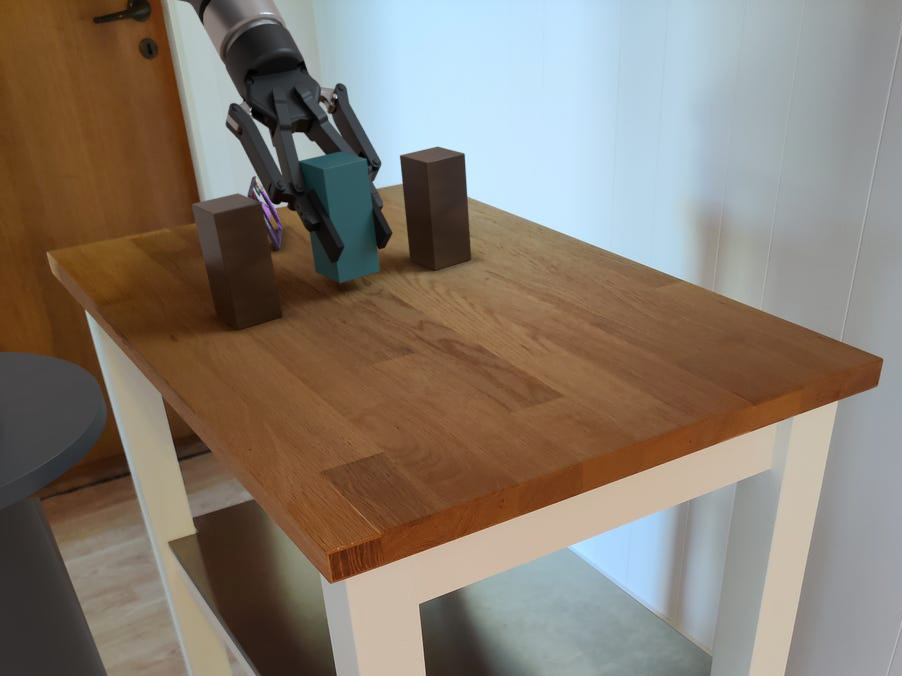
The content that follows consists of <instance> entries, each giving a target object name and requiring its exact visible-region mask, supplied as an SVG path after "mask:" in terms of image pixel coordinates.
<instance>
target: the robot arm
mask: <svg viewBox="0 0 902 676" xmlns="http://www.w3.org/2000/svg"><path fill="white" fill-rule="evenodd" d="M178 1H179V2H184V3H188V4H190V6H191V7H192V8H193V10H194V12H195V13H196V15H197V17H198V19H199V21H200V23H201V25H202V26H203V28H204V30H205V32H206V34H207V36H208V37H209V39H210V41H211V43H212V45H213V47H214V49H215V50H216V53H217V54H218V56H219V58H220V60H221V62H222V63H223V64H224V66H225V70H226V73H227V75H228V76H229V78H230V79H231V81H232V84H233V85H234V87H235V89H236V91H237V93H238V95H239V96H240V98H241V99H242V102H241V103H240V104H238V103H236V102H231V103H230V104H229V106H228V110H227V115H226V119H225V127H226V129H228V130H229V132H231V134H233V136H234V137H235V138H236V139H237V140H238V141H239V143H240V144H241V147H242V148H243V150H244V152H245V154H246V156H247V159H248V160H249V162H250V164H251V166H252V168H253V170H254V172H255V174H256V177H257V179H259V180H260V182H261V184H262V186H263V187H264V189H263V190H264V192H265V194H266V196H267V197H268V199H269V200H270V201H271V202H272V203H273V204H272V203H271V204H272V205H274V206H275V205H276V206H278V205H281V204H282V203H286V204H287V205H286V207H287V209H288V210H289V211H291V212H296V214H297V216H298V218H299V219H300V221H301V223H302V225H303V227H304V229H305V230H306V231H307V232H308V233H310V232H312V231H315V233H316V235H317V237H318V239H319V240H320V242H321V244H322V246H323V248H324V250H325V252H326V254H327V256H328V257H329V259H330V261H331V263H334V262H337V261H338V260H339V258H340V256H341V253H342V251H343V249H344V247H345V246H344V244H343V242H342V240H341V238H340V236H339V234H338V232H337V230H336V229H335V227H334V225H333V223H332V221H331V219H330V217H329V216H328V214H327V212H326V210H325V208H324V206H323V204H322V202H321V200H320V199H319V197H318V195H317V193H316V191H315V189H312V190H308V192H307V194H306V192H305V183H304V179H303V175H302V171H301V167H300V163H299V161H300V160H299V157H298V153H297V148H296V144H295V140H294V137H293V134H295V133H300V134H304V135H305V136H306V138H307V139H308V140H309V141H310V142H312V143H313V142H314V143H315V144H316V145H317V146H318V148H319V149H320V150H321V151H322V152H323V153H324V155H327V154H332V153H336V152H344V153H348V154H351V155H354V156H358V157H361V158H364V159H367V167H368V175H369V183H370V192H371V200H372V209H373V217H374V225H375V234H376V242H377V250H383V249H386V247H387V245H388V243H389V242H390V239H391V237H392V236H393V231H392V228H391V227H390V225H389V223H388V220H387V219H386V217H385V215H384V213H383V211H382V210H383V207H384V202H383V199H382V197H381V195H380V193H379V191H378V190H377V188H376V186H375V183H374V181H375V179H376V178H377V176H378V173H379V171H380V169H381V167H382V161H381V159H380V157H379V155H378V153H377V151H376V149H375V148H374V146H373V144H372V142H371V140H370V139H369V136H368V135H367V133H366V131H365V129H364V127H363V125H362V124H361V122H360V120H359V118H358V117H357V114H356V112H355V111H354V109H353V107H352V106H351V104H350V100H349V99H350V98H349V93H348V89H347V87H346V85H345V84H343V83H341V82H337V83H336V84H335V86H334V88H329V87H322V86H321V85H320V83H319V82H318V81H317V80H316V79H314V78H313V76H312V75H311V74H310V73H309V71H308V68H307V65H306V61H305V58H304V56H303V54H302V53H301V51H300V49H299V47H298V45H297V43H296V41H295V39H294V37H293V36H292V34H291V32H290V31H289V29H288V28H287V24H286V21H285V20H284V18H283V16H282V15H281V12H280V11H279V8H278V7H277V4H276V3H275V2H274V0H178ZM321 103H322V104H323V105H324V106H325V108H326V111H325V110H324V108H323V107H322V106H321V105H320V104H321ZM328 115H331V117H332V120H333V123H334V125H335V126H334V125H333V124H332V123H331V121H330V120H329V116H328ZM254 120H256V121H257V122H259V123H260V124H261V125H263V126H264V127H266V128H267V129H268V132H269V136H270V140H271V143H272V147H273V148H274V149H275V153H276V158H277V162H278V165H279V167H278V165H277V163H276V161H275V159H274V157H273V155H272V153H271V151H270V149H269V147H268V145H267V143H266V142H265V139H264V137H263V136H262V134H261V131H260V130H259V128H258V126H257V124H256V123H255V121H254ZM335 127H336V128H335Z"/></svg>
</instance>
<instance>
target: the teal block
mask: <svg viewBox="0 0 902 676" xmlns="http://www.w3.org/2000/svg"><path fill="white" fill-rule="evenodd" d="M299 163H300V167H301V171H302V175H303V179H304V183H305V192H306V194H307V192H308V190H312V189H315V191H316V193H317V195H318V197H319V199H320V200H321V202H322V204H323V206H324V208H325V210H326V212H327V214H328V216H329V217H330V219H331V221H332V223H333V225H334V227H335V229H336V230H337V232H338V234H339V236H340V238H341V240H342V242H343V244H344V246H345V247H344V249H343V251H342V253H341V256H340V258H339V260H338V261H337V262H334V263H331V261H330V259H329V257H328V256H327V254H326V252H325V250H324V248H323V246H322V244H321V242H320V240H319V239H318V237H317V235H316V233H315V231H312V232H309V237H310V244H311V251H312V256H313V262H314V263H313V264H314V268H315V273H316V274H319V275H321V276H323V277H325V278H327V279H330V280H332V281H334V282H336V283H337V284H343V283H345V282H349V281H352V280H356V279H360V278H362V277H366V276H370V275H373V274H377V273H379V272H381V268H380V260H379V259H380V258H379V253H378V247H377V242H376V234H375V225H374V217H373V209H372V200H371V192H370V183H369V175H368V167H367V159H364V158H361V157H358V156H354V155H351V154H348V153H344V152H336V153H332V154H327V155H326V154H324V155H320V156H319V155H318V156H315V157H310V158H305V159H301V160H299Z"/></svg>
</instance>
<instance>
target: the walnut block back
mask: <svg viewBox="0 0 902 676" xmlns="http://www.w3.org/2000/svg"><path fill="white" fill-rule="evenodd" d="M399 161H400V171H401V181H402V182H401V183H402V192H403V193H402V194H403V202H404V213H405V223H406V233H407V242H408V252H409V260H410V262H413V263H415V264H418V265H421V266H423V267H424V268H425V267H426V268H428V269H430V270H434V271H438V270H442V269H445V268H448V267H451V266H455V265H458V264H461V263H465V262H468V261H471V260H472V249H471V247H472V246H471V232H470V218H469V217H470V216H469V215H470V214H469V199H468V184H467V167H466V154H465V153H464V152H461V151H456V150H454V149H453V150H452V149H450V148H444V147H442V146H434V147H430V148H429V147H428V148H425V149H420V150H416V151H412V152H407V153H403V154H400V155H399Z"/></svg>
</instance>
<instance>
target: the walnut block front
mask: <svg viewBox="0 0 902 676" xmlns="http://www.w3.org/2000/svg"><path fill="white" fill-rule="evenodd" d="M261 202H262V201H261ZM261 202H259V201H256V200H254V199H251V198H249V197H248V196H246V195H244V194H241V193H233V194H229V195H225V196H224V195H223V196H220V197H217V198H212V199H208V200H202V201H199V202H195V203H194V202H193V203H191V209H192V213H193V217H194V223H195V226H196V231H197V235H198V239H199V244H200V248H201V254H202V257H203V263H204V266H205V271H206V275H207V279H208V283H209V288H210V292H211V297H212V301H213V306H214V311H215V315H216V318H217V319H219V320H221V321H222V322H224V323H226V324H228V325H229V326H231V327H232V328H234V329H236V330H243V329H246V328H250V327H253V326H256V325H259V324H263V323H265V322H270V321H273V320H276V319H279V318H282V317H283V311H282V306H281V301H280V296H279V290H278V285H277V278H276V273H275V268H274V264H273V257H272V253H271V246H270V242H269V241H270V240H269V235H268V233H267V230H266V224H265V219H264V214H263V208H262V203H261Z"/></svg>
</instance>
